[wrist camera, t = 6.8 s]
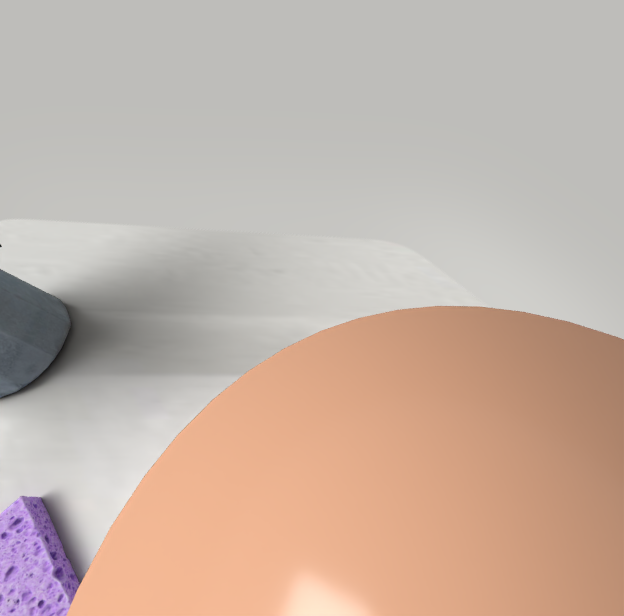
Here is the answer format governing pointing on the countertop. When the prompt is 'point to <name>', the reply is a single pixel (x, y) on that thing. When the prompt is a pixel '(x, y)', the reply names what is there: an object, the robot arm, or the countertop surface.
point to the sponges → (33, 563)
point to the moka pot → (28, 332)
